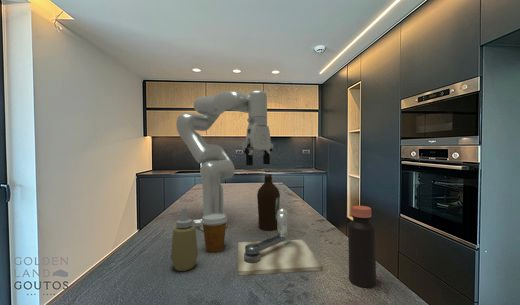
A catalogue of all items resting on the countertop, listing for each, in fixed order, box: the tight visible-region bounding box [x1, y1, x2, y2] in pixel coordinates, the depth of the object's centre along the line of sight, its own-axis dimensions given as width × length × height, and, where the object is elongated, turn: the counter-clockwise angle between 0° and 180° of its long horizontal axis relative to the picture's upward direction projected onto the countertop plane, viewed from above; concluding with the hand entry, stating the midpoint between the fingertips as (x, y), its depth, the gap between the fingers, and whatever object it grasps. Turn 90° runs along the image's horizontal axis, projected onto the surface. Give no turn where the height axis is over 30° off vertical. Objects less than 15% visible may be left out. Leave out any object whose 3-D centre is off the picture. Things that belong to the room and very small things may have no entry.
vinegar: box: [347, 205, 377, 289], centre depth 64 cm, size 7×7×20 cm
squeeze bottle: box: [170, 208, 199, 272], centre depth 74 cm, size 8×8×18 cm
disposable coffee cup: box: [201, 213, 229, 253], centre depth 87 cm, size 10×10×12 cm
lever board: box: [237, 239, 324, 276], centre depth 80 cm, size 25×22×3 cm
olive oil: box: [256, 173, 281, 231], centre depth 111 cm, size 11×11×25 cm
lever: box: [245, 207, 288, 256], centre depth 81 cm, size 19×4×12 cm, turn 135°
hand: (258, 164), depth 96 cm, fingers open, 9 cm apart
